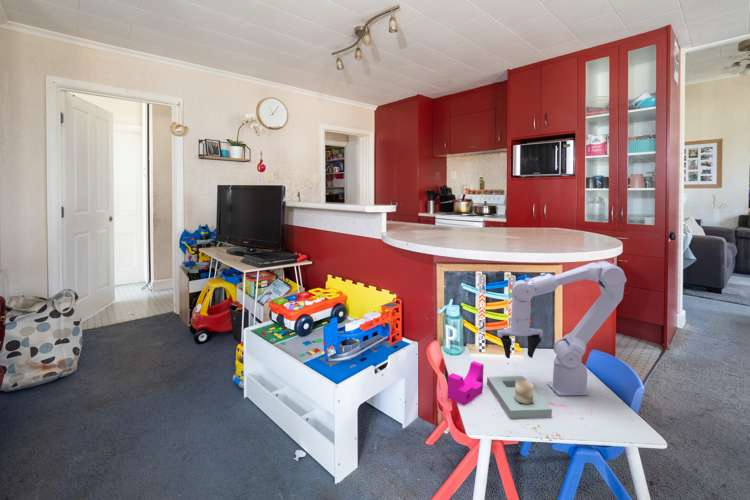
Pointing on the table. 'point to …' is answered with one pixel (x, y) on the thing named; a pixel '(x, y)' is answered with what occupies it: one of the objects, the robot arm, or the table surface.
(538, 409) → the board
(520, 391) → the beige rounded lump
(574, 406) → the table surface
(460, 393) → the toy block
